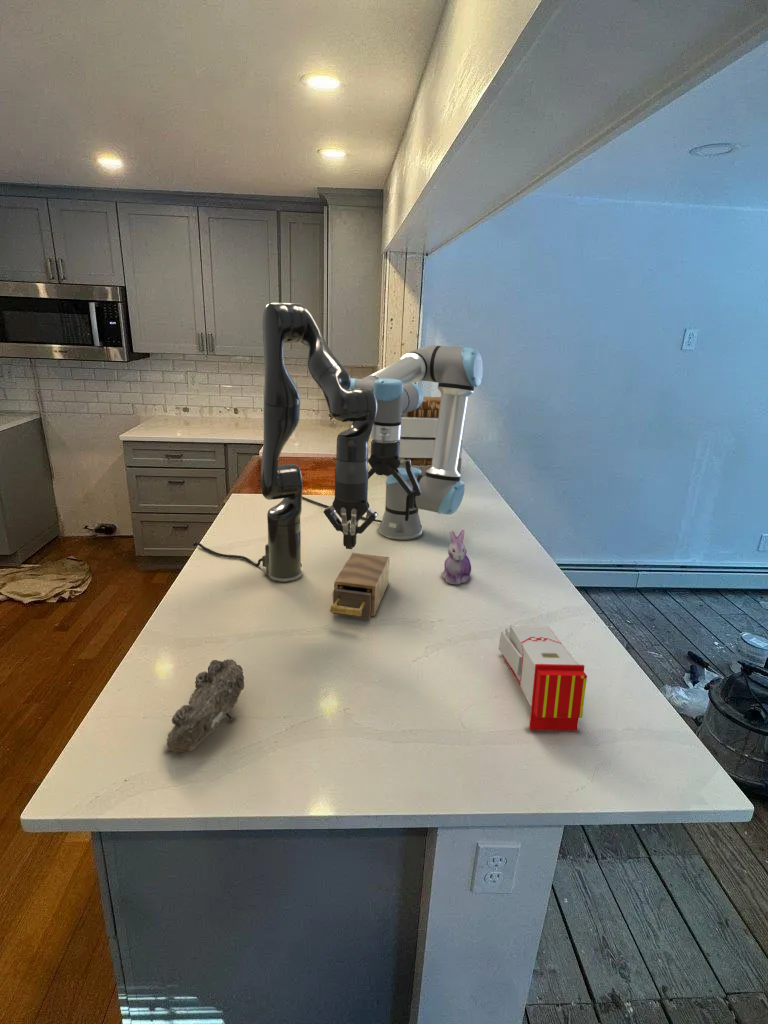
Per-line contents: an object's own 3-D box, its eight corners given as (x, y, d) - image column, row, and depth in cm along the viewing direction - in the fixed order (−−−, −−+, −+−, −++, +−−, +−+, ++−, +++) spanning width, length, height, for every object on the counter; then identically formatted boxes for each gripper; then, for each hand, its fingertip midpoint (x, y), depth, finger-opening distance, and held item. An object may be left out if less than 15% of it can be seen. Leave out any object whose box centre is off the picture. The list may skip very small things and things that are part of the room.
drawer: (363, 631, 137) (364, 607, 135) (325, 625, 139) (326, 601, 137) (383, 587, 159) (384, 566, 157) (350, 583, 161) (350, 562, 158)
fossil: (192, 660, 117) (244, 628, 112) (224, 691, 120) (276, 661, 115) (142, 746, 98) (202, 712, 93) (182, 779, 101) (242, 748, 96)
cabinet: (374, 616, 146) (375, 586, 143) (334, 610, 148) (334, 581, 145) (388, 584, 163) (389, 557, 160) (351, 579, 165) (352, 552, 162)
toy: (545, 610, 133) (596, 671, 104) (540, 662, 136) (588, 737, 106) (494, 609, 133) (530, 670, 103) (490, 662, 135) (524, 736, 106)
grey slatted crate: (382, 463, 289) (386, 382, 275) (445, 464, 293) (451, 384, 279) (390, 482, 257) (394, 392, 243) (460, 483, 261) (468, 394, 247)
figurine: (453, 588, 162) (457, 540, 157) (434, 573, 170) (437, 527, 165) (479, 582, 166) (485, 535, 161) (459, 568, 175) (464, 523, 170)
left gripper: (318, 479, 126) (318, 550, 132) (376, 485, 124) (373, 557, 130) (328, 470, 133) (327, 538, 139) (383, 476, 131) (380, 545, 137)
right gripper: (335, 439, 145) (334, 517, 152) (432, 446, 142) (426, 525, 149) (341, 433, 152) (340, 508, 159) (434, 440, 149) (428, 516, 156)
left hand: (349, 547), depth 134 cm, fingers closed
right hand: (382, 517), depth 154 cm, fingers open, 13 cm apart
